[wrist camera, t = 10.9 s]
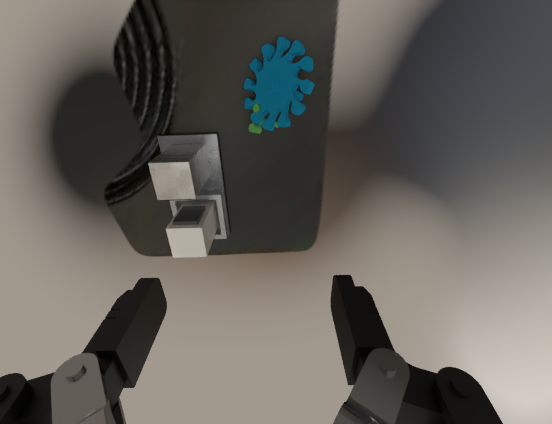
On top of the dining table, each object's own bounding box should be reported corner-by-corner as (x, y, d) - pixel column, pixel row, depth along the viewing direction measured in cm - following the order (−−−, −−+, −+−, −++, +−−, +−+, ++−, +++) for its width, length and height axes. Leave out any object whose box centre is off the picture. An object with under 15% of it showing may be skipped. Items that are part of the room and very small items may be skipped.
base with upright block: (160, 134, 37) (129, 152, 29) (217, 132, 37) (202, 150, 29) (182, 232, 45) (162, 268, 37) (230, 231, 45) (221, 266, 37)
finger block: (213, 197, 41) (200, 224, 34) (218, 225, 43) (206, 256, 36) (183, 198, 41) (164, 225, 34) (189, 226, 43) (173, 257, 36)
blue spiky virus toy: (270, 16, 30) (325, 64, 26) (300, 39, 34) (352, 83, 31) (225, 103, 36) (265, 154, 32) (256, 113, 40) (295, 158, 36)
